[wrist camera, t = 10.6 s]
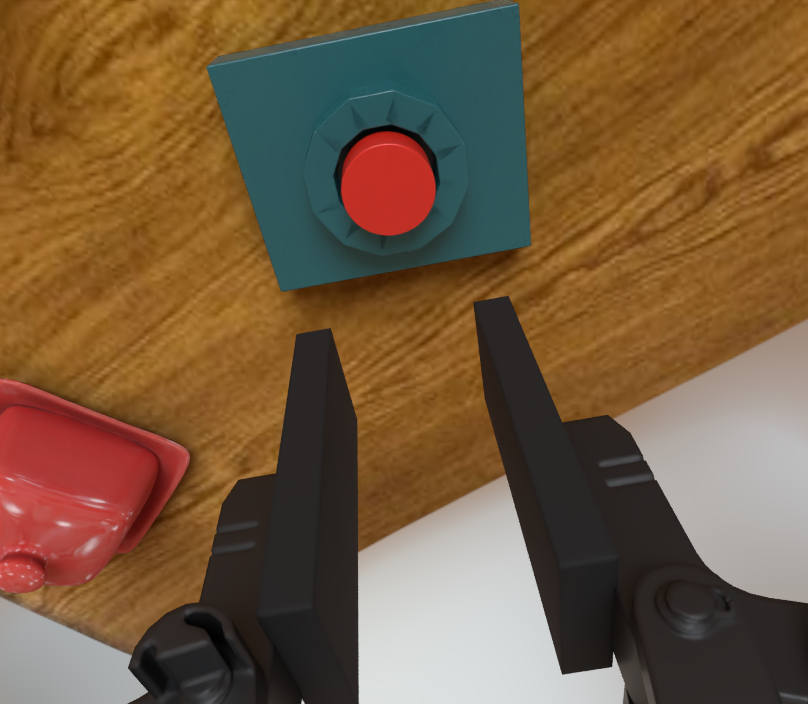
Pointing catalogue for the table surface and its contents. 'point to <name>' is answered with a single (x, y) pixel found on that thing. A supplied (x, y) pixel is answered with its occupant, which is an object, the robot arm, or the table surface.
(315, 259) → the button box
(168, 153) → the table surface
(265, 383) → the table surface
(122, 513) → the butter dish
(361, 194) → the button
